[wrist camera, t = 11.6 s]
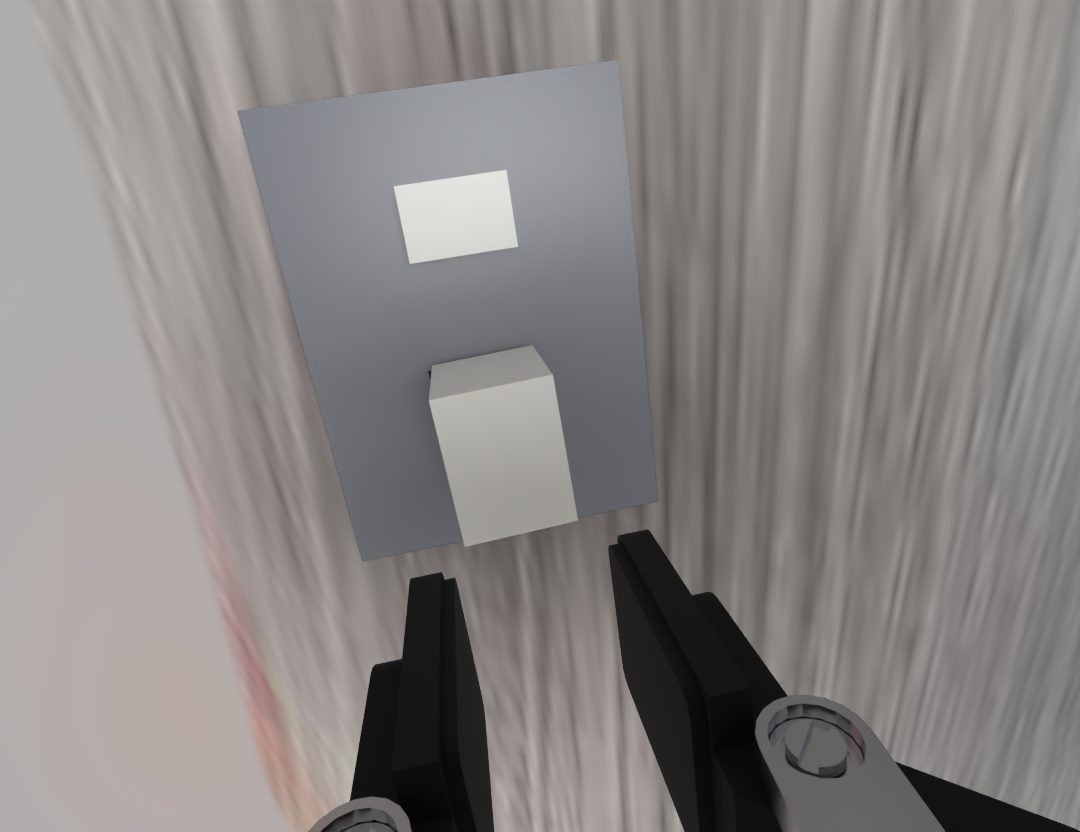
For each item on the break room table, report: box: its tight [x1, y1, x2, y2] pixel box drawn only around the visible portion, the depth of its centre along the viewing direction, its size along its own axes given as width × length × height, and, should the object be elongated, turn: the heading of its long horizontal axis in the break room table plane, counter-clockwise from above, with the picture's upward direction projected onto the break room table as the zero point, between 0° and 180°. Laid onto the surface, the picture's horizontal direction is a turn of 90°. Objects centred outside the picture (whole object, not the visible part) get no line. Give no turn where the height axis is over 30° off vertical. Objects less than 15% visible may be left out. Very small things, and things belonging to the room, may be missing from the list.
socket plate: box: [237, 60, 658, 561], centre depth 23 cm, size 16×12×3 cm
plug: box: [429, 345, 578, 547], centre depth 22 cm, size 5×4×7 cm
